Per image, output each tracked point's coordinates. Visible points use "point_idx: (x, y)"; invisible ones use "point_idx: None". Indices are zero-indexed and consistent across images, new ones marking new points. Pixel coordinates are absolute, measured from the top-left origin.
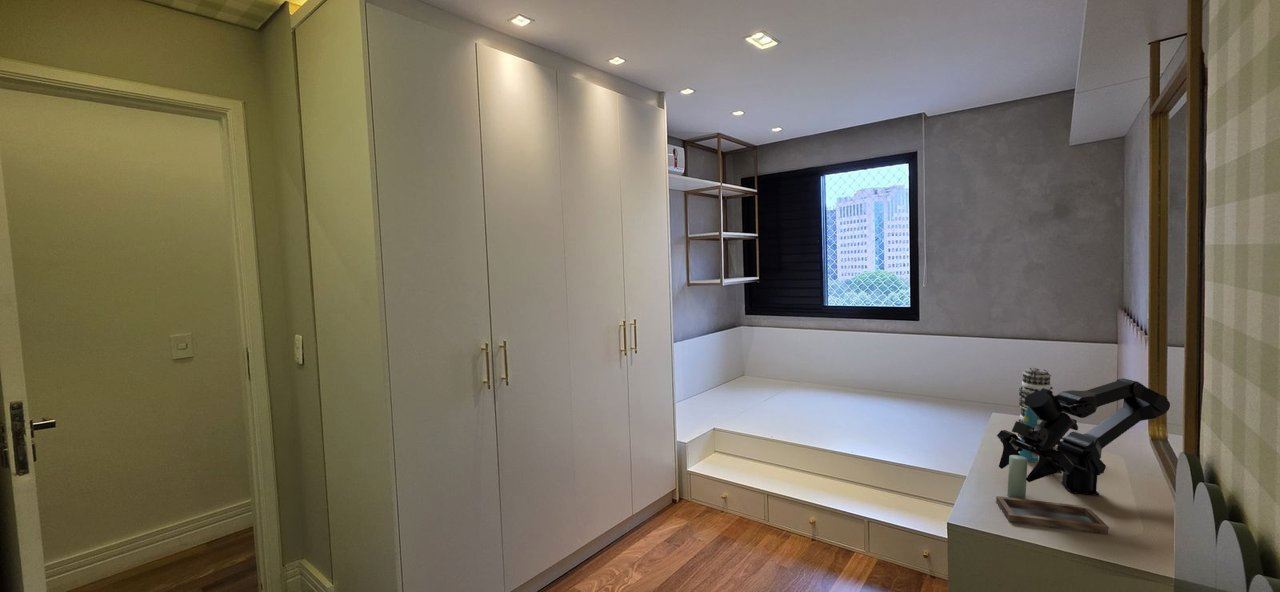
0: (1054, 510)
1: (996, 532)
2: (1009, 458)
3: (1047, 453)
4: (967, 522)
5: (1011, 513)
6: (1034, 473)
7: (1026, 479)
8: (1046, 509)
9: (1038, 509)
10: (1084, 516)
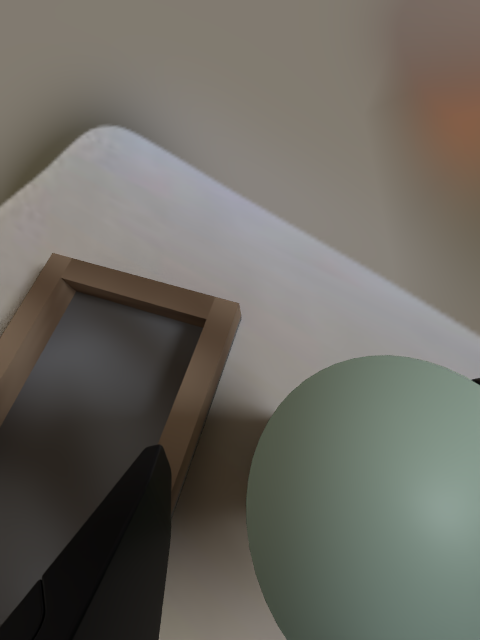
0: None
1: (23, 192)
2: (422, 371)
3: None
4: (102, 144)
5: (61, 268)
6: (81, 532)
7: (153, 445)
8: None
9: None
10: None
